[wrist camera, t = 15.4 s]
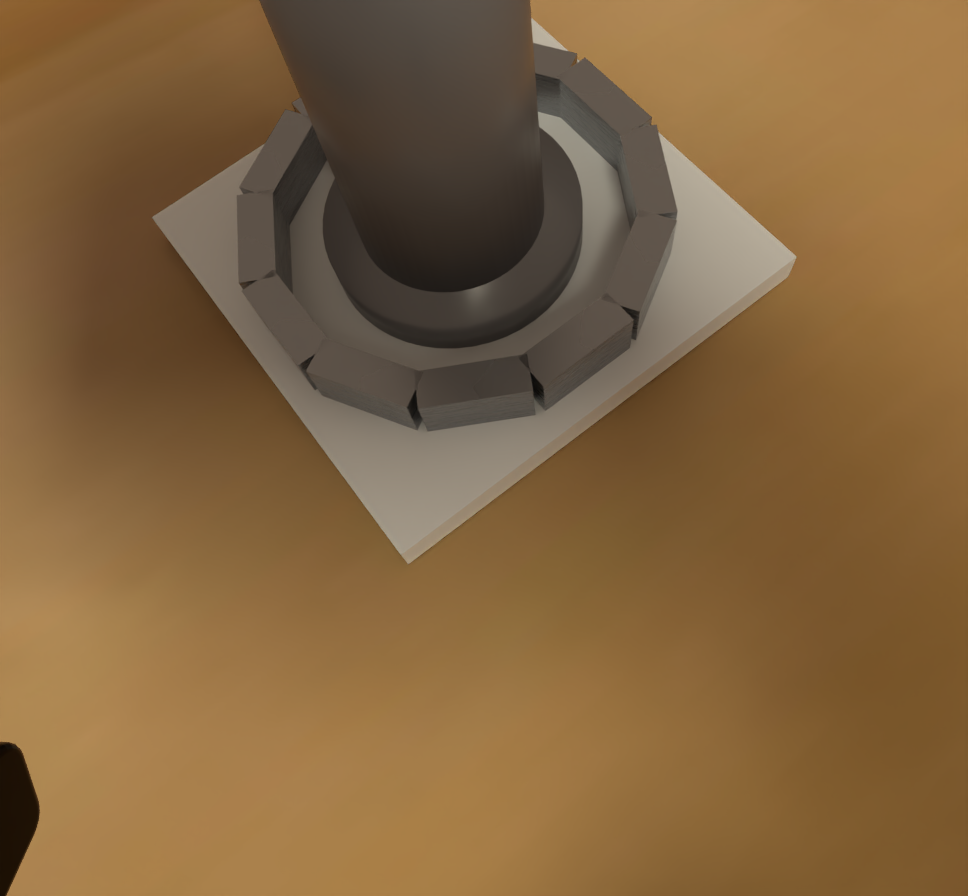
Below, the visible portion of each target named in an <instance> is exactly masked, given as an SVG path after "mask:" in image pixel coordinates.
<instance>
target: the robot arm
mask: <svg viewBox="0 0 968 896" xmlns="http://www.w3.org/2000/svg"><path fill="white" fill-rule="evenodd" d="M39 813H40V810H39V801H38V798H37V795H36V792H35V789H34V786H33V783H32V780H31V777H30V774H29V771H28V768H27V765H26V762H25V759H24V756H23V753H22V751H21V750H20V748H18V747H17V746H16V745H15V744H13V743H10V742H0V896H6V895H7V893H8V891H9V888H10V886H11V884H12V882H13V880H14V877H15V875H16V873H17V871H18V869H19V866H20V864H21V862H22V860H23V858H24V856H25V853H26V851H27V849H28V847H29V845H30V842H31V840H32V838H33V836H34V834H35V831H36V828H37V824H38V821H39Z"/></svg>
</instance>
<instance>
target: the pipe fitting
mask: <svg viewBox="0 0 968 896" xmlns="http://www.w3.org/2000/svg"><path fill="white" fill-rule="evenodd" d="M259 1H260V3H261V5H262V8H263V10H264V12H265V15H266V17H267V19H268V22H269V24H270V27H271V29H272V31H273V34H274V36H275V38H276V41H277V43H278V45H279V48H280V50H281V52H282V55H283V57H284V59H285V62H286V64H287V66H288V69H289V71H290V74H291V76H292V78H293V81H294V83H295V85H296V88H297V90H298V92H299V95H300V97H301V99H302V102H303V104H304V106H305V109H306V111H307V113H308V116H309V118H310V121H311V123H312V125H313V128H314V130H315V132H316V135H317V137H318V139H319V142H320V144H321V146H322V149H323V151H324V153H325V156H326V158H327V160H328V163H329V165H330V168H331V170H332V172H333V175H334V177H335V179H334V181H333V183H332V186H331V188H330V190H329V193H328V196H327V199H326V203H325V207H324V214H323V238H324V245H325V249H326V252H327V255H328V259H329V261H330V263H331V265H332V267H333V269H334V271H335V273H336V275H337V277H338V279H339V281H340V283H341V285H342V287H343V289H344V291H345V293H346V295H347V297H348V298H349V300H350V301H351V303H352V304H353V305H354V307H355V308H356V309H357V310H358V311H359V313H360V314H361V315H362V316H363V317H364V318H365V319H366V320H368V321H369V322H370V323H372V324H373V325H374V326H375V327H377V328H378V329H380V330H382V331H383V332H385V333H387V334H389V335H390V336H392V337H395V338H397V339H400V340H402V341H405V342H408V343H412V344H415V345H419V346H424V347H432V348H455V349H456V348H465V347H473V346H478V345H482V344H486V343H490V342H493V341H496V340H499V339H501V338H504V337H507V336H509V335H511V334H513V333H515V332H517V331H519V330H521V329H522V328H524V327H525V326H527V325H528V324H530V323H531V322H533V321H534V320H536V319H537V318H538V317H539V316H541V315H542V314H543V313H544V312H545V311H546V310H548V309H549V307H550V306H551V305H552V304H553V303H554V302H555V301H556V300H557V299H558V298H559V296H560V295H561V293H562V292H563V291H564V289H565V288H566V286H567V285H568V283H569V281H570V279H571V277H572V275H573V273H574V271H575V269H576V266H577V263H578V260H579V257H580V252H581V246H582V234H583V201H582V193H581V186H580V183H579V179H578V176H577V173H576V171H575V169H574V166H573V164H572V162H571V160H570V159H569V157H568V156H567V154H566V153H565V151H564V150H563V148H562V147H561V146H560V145H559V144H558V143H557V142H556V141H555V140H554V138H553V137H551V136H550V135H549V134H548V133H547V132H545V131H544V130H543V129H542V128H540V127H539V120H538V106H537V92H536V78H535V64H534V50H533V36H532V22H531V8H530V0H259Z"/></svg>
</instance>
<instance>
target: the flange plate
mask: <svg viewBox="0 0 968 896" xmlns="http://www.w3.org/2000/svg"><path fill="white" fill-rule="evenodd" d="M531 22H532V36H533V50H534V64H535V78H536V92H537V106H538V120H539V127H540V128H542V129H543V130H544V131H545V132H547V133H548V134H549V135H550V136H551V137H553V138H554V140H555V141H556V142H557V143H558V144H559V145H560V146H561V147H562V148H563V150H564V151H565V153H566V154H567V156H568V157H569V159H570V160H571V162H572V164H573V166H574V169H575V171H576V173H577V176H578V179H579V183H580V186H581V193H582V201H583V234H582V246H581V252H580V257H579V260H578V263H577V266H576V269H575V271H574V273H573V275H572V277H571V279H570V281H569V283H568V285H567V286H566V288H565V289H564V291H563V292H562V293H561V295H560V296H559V298H558V299H557V300H556V301H555V302H554V303H553V304H552V305H551V306H550V307H549V309H548V310H546V311H545V312H544V313H543V314H542V315H541V316H539V317H538V318H537V319H536V320H534V321H533V322H531V323H530V324H528V325H527V326H525V327H524V328H522V329H521V330H519V331H517V332H515V333H513V334H511V335H509V336H507V337H504V338H501V339H499V340H496V341H493V342H490V343H486V344H482V345H478V346H473V347H465V348H456V349H455V348H432V347H424V346H419V345H415V344H412V343H408V342H405V341H402V340H400V339H397V338H395V337H392V336H390V335H389V334H387V333H385V332H383V331H382V330H380V329H378V328H377V327H375V326H374V325H373V324H372V323H370V322H369V321H368V320H366V319H365V318H364V317H363V316H362V315H361V314H360V313H359V311H358V310H357V309H356V308H355V307H354V305H353V304H352V303H351V301H350V300H349V298H348V297H347V295H346V293H345V291H344V289H343V287H342V285H341V283H340V281H339V279H338V277H337V275H336V273H335V271H334V269H333V267H332V265H331V263H330V261H329V259H328V255H327V252H326V249H325V245H324V238H323V214H324V207H325V203H326V199H327V196H328V193H329V190H330V188H331V186H332V183H333V181H334V179H335V177H334V175H333V172H332V170H331V168H330V165H329V163H328V160H327V158H326V156H325V153H324V151H323V149H322V146H321V144H320V142H319V139H318V137H317V135H316V132H315V130H314V128H313V125H312V123H311V121H310V118H309V116H308V113H307V111H306V109H305V106H304V104H303V102H302V99H301V97H300V98H299V99H297V100H296V101H294V102H293V103H292V105H293V107H294V109H295V112H293V111H289V110H286V109H285V111H284V113H283V114H282V116H281V118H280V119H279V121H278V123H277V124H276V126H275V128H274V129H273V131H272V133H271V134H270V136H269V138H268V139H267V141H266V143H265V144H263V145H262V146H260V147H258V148H257V149H255V150H254V151H252V152H251V153H249V154H248V155H246V156H245V157H243V158H242V159H240V160H239V161H237V162H236V163H234V164H233V165H231V166H229V167H228V168H226V169H225V170H223V171H222V172H220V173H219V174H217V175H216V176H214V177H213V178H211V179H210V180H208V181H207V182H205V183H203V184H202V185H200V186H199V187H197V188H196V189H194V190H193V191H191V192H190V193H188V194H187V195H185V196H184V197H182V198H181V199H179V200H177V201H176V202H174V203H173V204H171V205H170V206H168V207H167V208H165V209H164V210H162V211H161V212H159V213H158V214H156V215H155V216H153V217H152V218H153V220H154V221H155V222H156V224H157V225H158V226H159V228H160V229H161V231H162V232H163V233H164V235H165V236H166V237H167V239H168V240H169V241H170V243H171V244H172V245H173V247H174V248H175V250H176V251H177V252H178V254H179V255H180V256H181V258H182V259H183V260H184V262H185V263H186V264H187V266H188V267H189V268H190V270H191V271H192V273H193V274H194V275H195V277H196V278H197V279H198V281H199V282H200V283H201V285H202V286H203V287H204V289H205V290H206V292H207V293H208V294H209V296H210V297H211V298H212V300H213V301H214V302H215V304H216V305H217V306H218V308H219V309H220V311H221V312H222V313H223V315H224V316H225V317H226V319H227V320H228V321H229V323H230V324H231V325H232V327H233V328H234V329H235V331H236V332H237V334H238V335H239V336H240V338H241V339H242V340H243V342H244V343H245V344H246V346H247V347H248V348H249V350H250V351H251V353H252V354H253V355H254V357H255V358H256V359H257V361H258V362H259V363H260V365H261V366H262V367H263V369H264V370H265V371H266V373H267V374H268V376H269V377H270V378H271V380H272V381H273V382H274V384H275V385H276V386H277V388H278V389H279V390H280V392H281V393H282V395H283V396H284V397H285V399H286V400H287V401H288V403H289V404H290V405H291V407H292V408H293V409H294V411H295V412H296V414H297V415H298V416H299V418H300V419H301V420H302V422H303V423H304V424H305V426H306V427H307V428H308V430H309V431H310V432H311V434H312V435H313V437H314V438H315V439H316V441H317V442H318V443H319V445H320V446H321V447H322V449H323V450H324V451H325V453H326V454H327V456H328V457H329V458H330V460H331V461H332V462H333V464H334V465H335V466H336V468H337V469H338V470H339V472H340V473H341V475H342V476H343V477H344V479H345V480H346V481H347V483H348V484H349V485H350V487H351V488H352V489H353V491H354V492H355V493H356V495H357V496H358V498H359V499H360V500H361V502H362V503H363V504H364V506H365V507H366V508H367V510H368V511H369V512H370V514H371V515H372V517H373V518H374V519H375V521H376V522H377V523H378V525H379V526H380V527H381V529H382V530H383V531H384V533H385V534H386V536H387V537H388V538H389V540H390V541H391V542H392V544H393V545H394V546H395V548H396V549H397V550H398V552H399V553H400V554H401V556H402V557H403V558H404V560H405V561H406V562H407V563H408V564H409V563H411V562H412V561H413V560H415V559H416V558H417V557H419V556H420V555H421V554H423V553H424V552H425V551H427V550H428V549H429V548H431V547H432V546H433V545H435V544H436V543H437V542H439V541H440V540H441V539H442V538H444V537H445V536H446V535H448V534H449V533H450V532H452V531H453V530H454V529H456V528H457V527H458V526H460V525H461V524H462V523H464V522H465V521H466V520H468V519H469V518H470V517H472V516H473V515H474V514H476V513H477V512H478V511H480V510H481V509H482V508H483V507H485V506H486V505H487V504H489V503H490V502H491V501H493V500H494V499H495V498H497V497H498V496H499V495H501V494H502V493H503V492H505V491H506V490H507V489H509V488H510V487H511V486H513V485H514V484H515V483H517V482H518V481H519V480H520V479H522V478H523V477H524V476H526V475H527V474H528V473H530V472H531V471H532V470H534V469H535V468H536V467H538V466H539V465H540V464H542V463H543V462H544V461H546V460H547V459H548V458H550V457H551V456H552V455H554V454H555V453H556V452H557V451H559V450H560V449H561V448H563V447H564V446H565V445H567V444H568V443H569V442H571V441H572V440H573V439H575V438H576V437H577V436H579V435H580V434H581V433H583V432H584V431H585V430H587V429H588V428H589V427H591V426H592V425H593V424H594V423H596V422H597V421H598V420H600V419H601V418H602V417H604V416H605V415H606V414H608V413H609V412H610V411H612V410H613V409H614V408H616V407H617V406H618V405H620V404H621V403H622V402H624V401H625V400H626V399H628V398H629V397H630V396H631V395H633V394H634V393H635V392H637V391H638V390H639V389H641V388H642V387H643V386H645V385H646V384H647V383H649V382H650V381H651V380H653V379H654V378H655V377H657V376H658V375H659V374H661V373H662V372H663V371H665V370H666V369H667V368H668V367H670V366H671V365H672V364H674V363H675V362H676V361H678V360H679V359H680V358H682V357H683V356H684V355H686V354H687V353H688V352H690V351H691V350H692V349H694V348H695V347H696V346H698V345H699V344H700V343H702V342H703V341H704V340H705V339H707V338H708V337H709V336H711V335H712V334H713V333H715V332H716V331H717V330H719V329H720V328H721V327H723V326H724V325H725V324H727V323H728V322H729V321H731V320H732V319H733V318H735V317H736V316H737V315H739V314H740V313H741V312H742V311H744V310H745V309H746V308H748V307H749V306H750V305H752V304H753V303H754V302H756V301H757V300H758V299H760V298H761V297H762V296H764V295H765V294H766V293H768V292H769V291H770V290H772V289H773V288H774V287H776V286H777V285H778V284H779V283H781V282H782V281H783V280H785V279H786V278H787V277H788V276H789V274H790V271H791V269H792V267H793V264H794V262H795V260H796V256H795V255H794V254H793V253H792V252H791V251H790V250H789V249H788V248H786V247H785V246H784V245H783V244H782V243H781V242H780V241H779V240H778V239H776V238H775V237H774V236H773V235H772V234H771V233H770V232H769V231H768V230H766V229H765V228H764V227H763V226H762V225H761V224H760V223H759V222H758V221H756V220H755V219H754V218H753V217H752V216H751V215H750V214H749V213H748V212H746V211H745V210H744V209H743V208H742V207H741V206H740V205H739V204H738V203H736V202H735V201H734V200H733V199H732V198H731V197H730V196H729V195H728V194H726V193H725V192H724V191H723V190H722V189H721V188H720V187H719V186H718V185H716V184H715V183H714V182H713V181H712V180H711V179H710V178H709V177H708V176H706V175H705V174H704V173H703V172H702V171H701V170H700V169H699V168H698V167H696V166H695V165H694V164H693V163H692V162H691V161H690V160H689V159H688V158H686V157H685V156H684V155H683V154H682V153H681V152H680V151H679V150H678V149H677V148H675V147H674V146H673V145H672V144H671V143H670V142H669V141H668V140H667V139H665V138H664V137H663V136H662V135H661V134H660V133H659V132H658V129H657V125H651V120H652V117H651V116H650V115H649V114H648V113H646V112H645V111H644V110H643V109H642V108H641V107H640V106H639V105H637V104H636V103H635V102H634V101H633V100H632V99H631V98H630V97H629V96H627V95H626V94H625V93H624V92H623V91H622V90H621V89H620V88H618V87H617V86H616V85H615V84H614V83H613V82H612V81H611V80H610V79H608V78H607V77H606V76H605V75H604V74H603V73H602V72H601V71H599V70H598V69H597V68H596V67H595V66H594V65H593V64H592V63H591V62H589V61H588V60H587V59H586V58H584V59H582V60H581V61H579V60H578V59H577V53H573V52H569V51H568V50H567V49H565V48H564V47H563V46H562V45H561V44H560V43H559V42H558V41H557V40H555V39H554V38H553V37H552V36H551V35H550V34H549V33H548V32H547V31H545V30H544V29H543V28H542V27H541V26H540V25H539V24H538V23H537V22H535V21H534V20H533V19H532V18H531Z"/></svg>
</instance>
